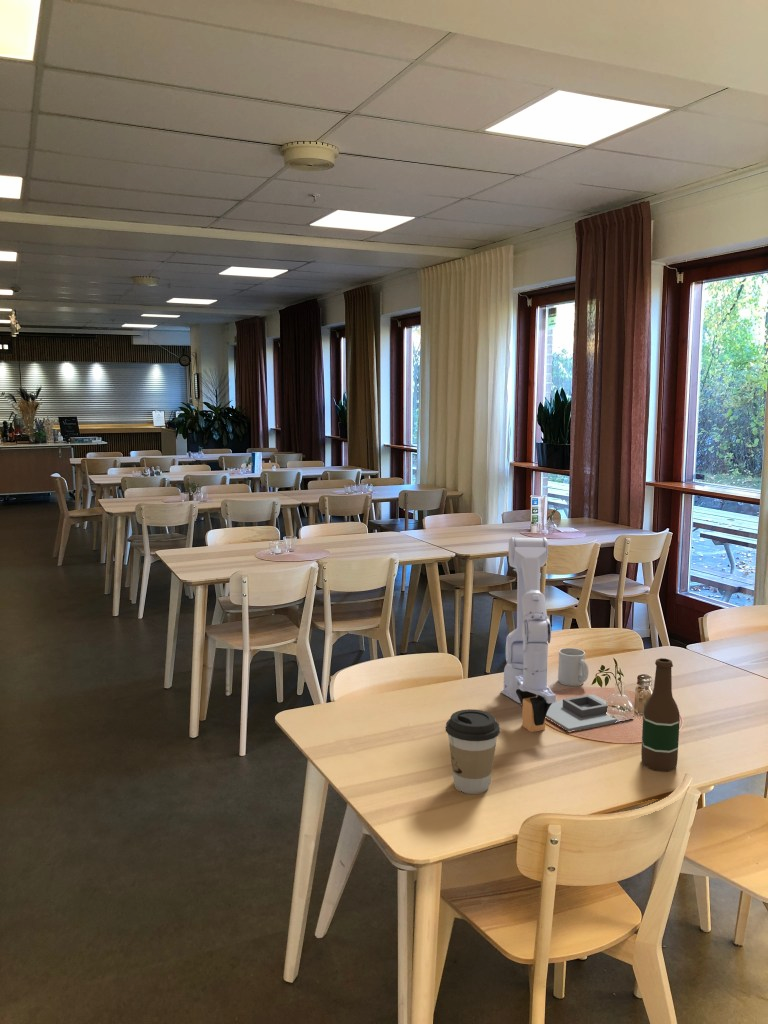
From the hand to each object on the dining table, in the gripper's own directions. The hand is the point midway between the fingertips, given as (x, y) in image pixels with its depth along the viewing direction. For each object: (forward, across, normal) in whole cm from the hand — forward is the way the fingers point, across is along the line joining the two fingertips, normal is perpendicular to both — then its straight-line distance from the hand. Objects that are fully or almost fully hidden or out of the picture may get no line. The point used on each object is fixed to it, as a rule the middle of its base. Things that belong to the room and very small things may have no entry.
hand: (533, 721), depth 199 cm
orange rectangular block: (+2, 0, 0) cm, 2 cm away
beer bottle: (+2, +28, +14) cm, 31 cm away
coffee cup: (+2, +20, -29) cm, 35 cm away
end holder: (+2, -2, +16) cm, 16 cm away
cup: (+2, -21, +28) cm, 35 cm away
